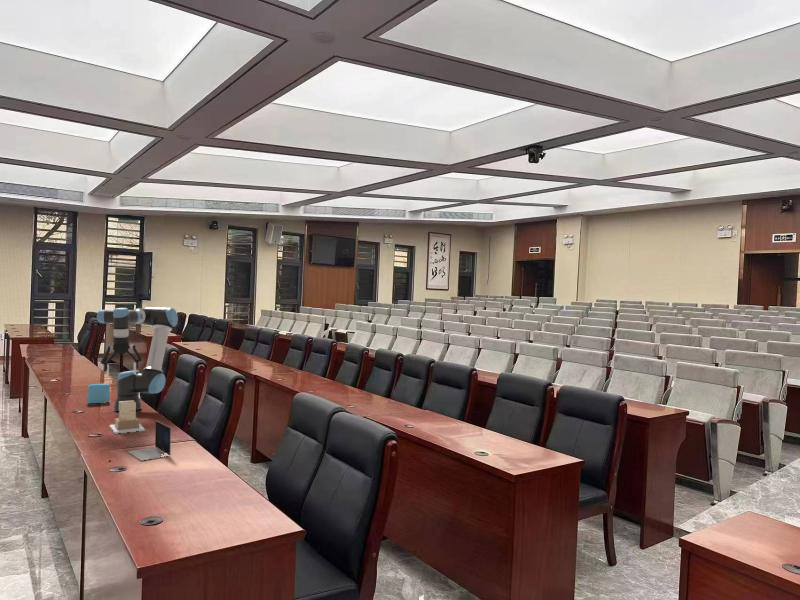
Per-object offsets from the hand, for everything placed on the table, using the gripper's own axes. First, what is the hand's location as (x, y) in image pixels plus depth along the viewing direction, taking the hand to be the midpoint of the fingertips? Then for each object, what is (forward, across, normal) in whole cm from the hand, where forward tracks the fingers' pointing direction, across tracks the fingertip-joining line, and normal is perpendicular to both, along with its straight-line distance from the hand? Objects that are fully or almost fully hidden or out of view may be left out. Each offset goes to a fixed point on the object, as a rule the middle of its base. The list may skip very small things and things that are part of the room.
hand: (121, 375), depth 322 cm
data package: (+28, +2, -61) cm, 67 cm away
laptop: (+24, +3, +73) cm, 77 cm away
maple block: (+20, +1, +18) cm, 27 cm away
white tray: (+25, +1, +18) cm, 31 cm away
